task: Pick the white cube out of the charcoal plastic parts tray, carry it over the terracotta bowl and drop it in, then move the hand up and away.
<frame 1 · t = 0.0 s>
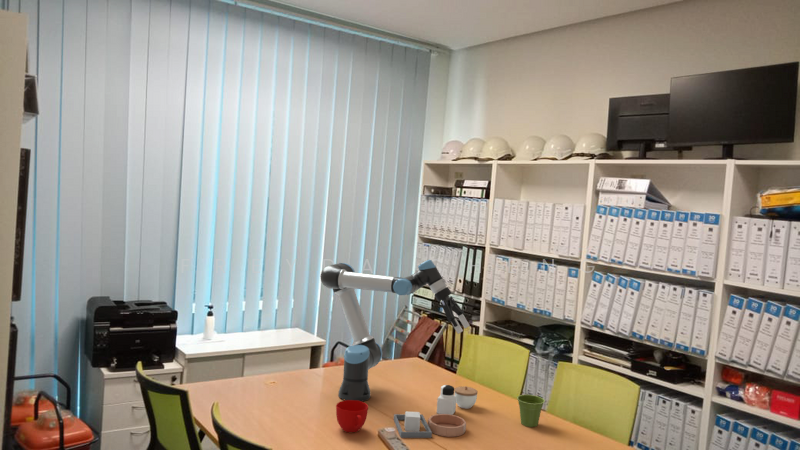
hand: (464, 329, 273), 36 cm above the table, tool tilted 35°, fingers open, 13 cm apart
bowl: (446, 429, 243), on the table
lidded jar: (464, 406, 274), on the table
medicine bottle: (446, 412, 264), on the table
white cube: (411, 428, 243), resting in parts tray
plant pot: (529, 424, 255), on the table
parts tray: (411, 428, 243), on the table
ceramic cup: (352, 432, 235), on the table
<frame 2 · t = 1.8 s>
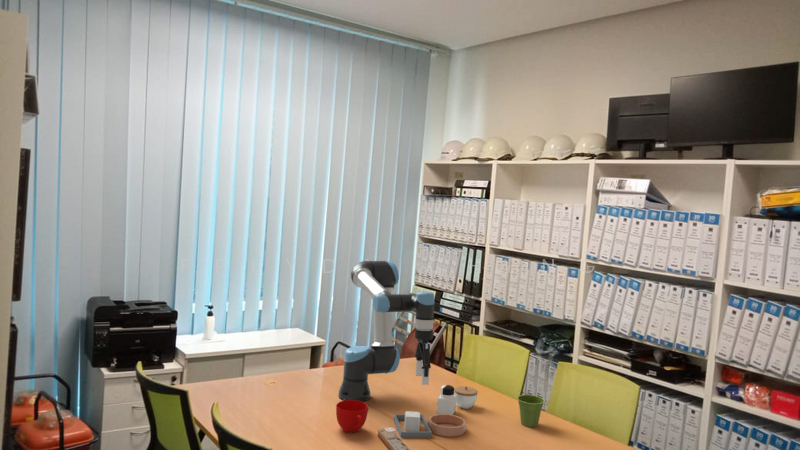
hand: (422, 380, 244), 20 cm above the table, tool pointing down, fingers open, 13 cm apart
nothing on the table moved.
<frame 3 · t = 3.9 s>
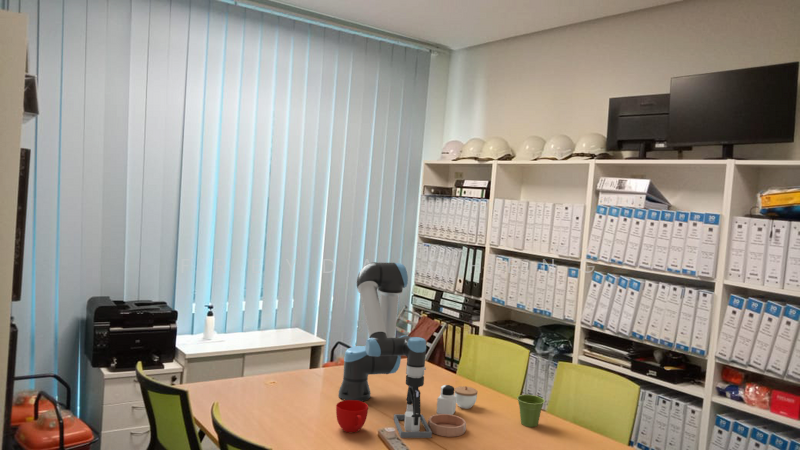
hand: (412, 426, 243), 1 cm above the table, tool pointing down, fingers open, 13 cm apart
nothing on the table moved.
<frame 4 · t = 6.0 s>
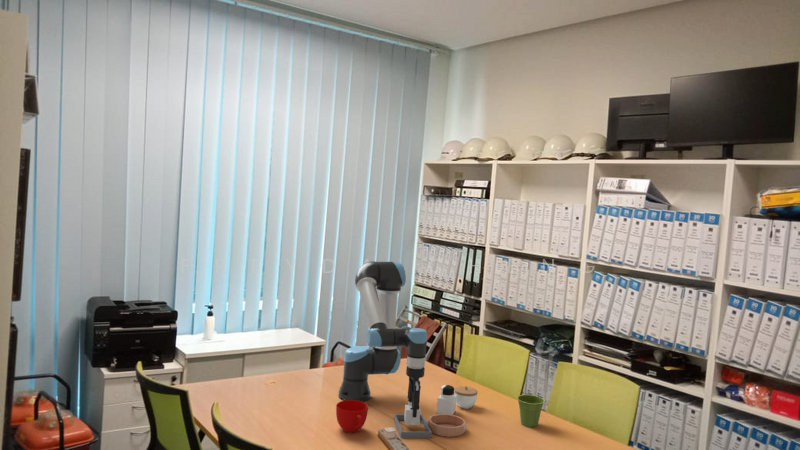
hand: (411, 420, 243), 3 cm above the table, tool pointing down, fingers closed on white cube, 6 cm apart
white cube: (411, 422, 243), point 2 cm above the table, touching gripper
everything else where it was.
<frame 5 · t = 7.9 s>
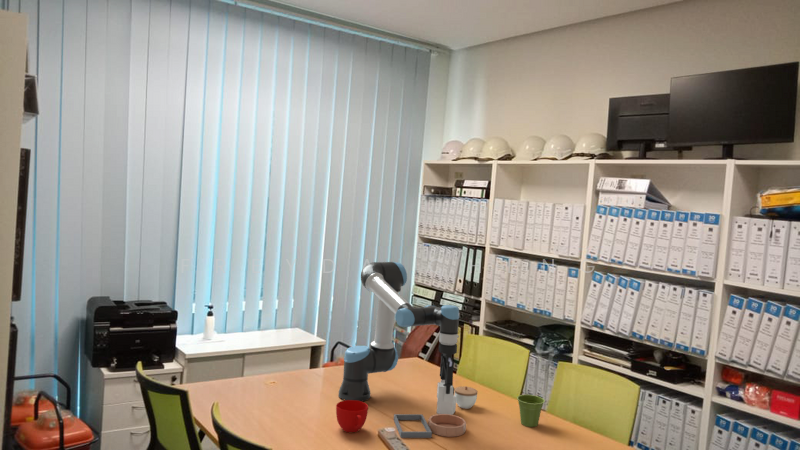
hand: (444, 398, 242), 13 cm above the table, tool pointing down, fingers closed on white cube, 6 cm apart
white cube: (444, 399, 242), point 13 cm above the table, touching gripper
everything else where it was.
when the fingers open (4 cm above the table, at t = 10.1 s): white cube drops 4 cm, resting on bowl.
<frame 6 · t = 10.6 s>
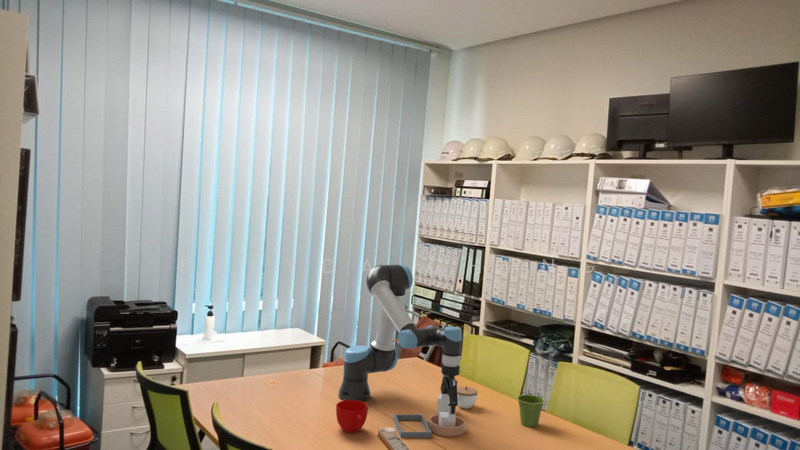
hand: (447, 415, 243), 6 cm above the table, tool pointing down, fingers open, 13 cm apart
white cube: (446, 429, 244), resting on bowl
everything else where it was.
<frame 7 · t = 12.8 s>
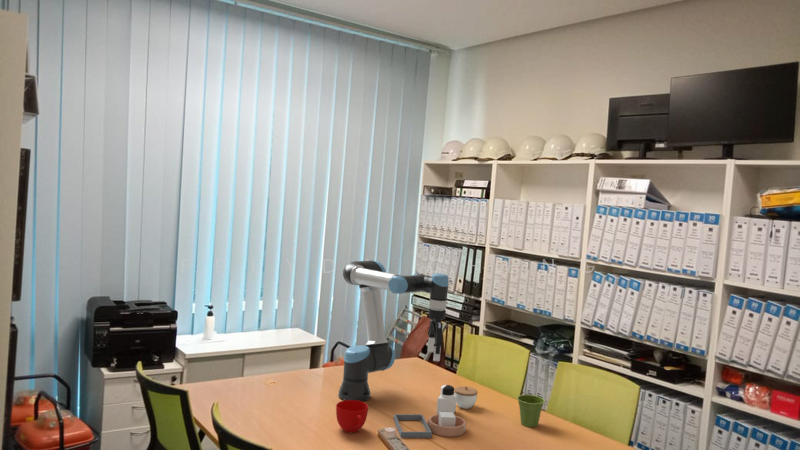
hand: (433, 356, 258), 26 cm above the table, tool pointing down, fingers open, 13 cm apart
nothing on the table moved.
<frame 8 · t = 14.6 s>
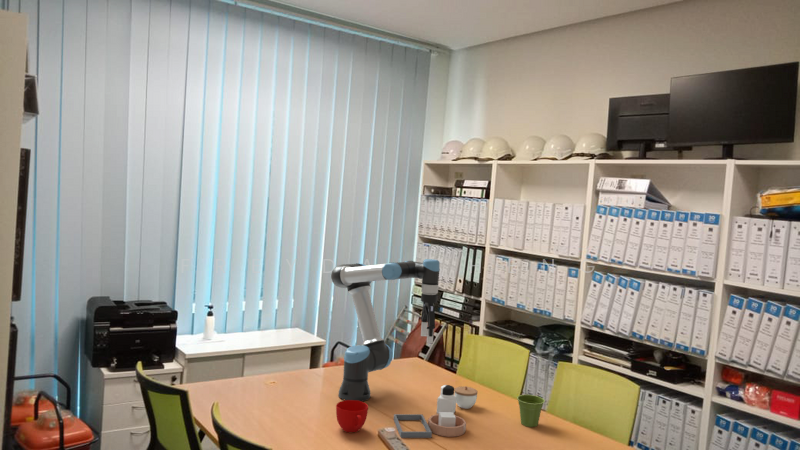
hand: (426, 339, 266), 32 cm above the table, tool pointing down, fingers open, 13 cm apart
nothing on the table moved.
at the end: white cube inside the target area on the bowl (0.1 cm from its centre), point 0.1 cm above the bowl's base; white cube tilted 2°; the gripper is holding nothing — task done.
